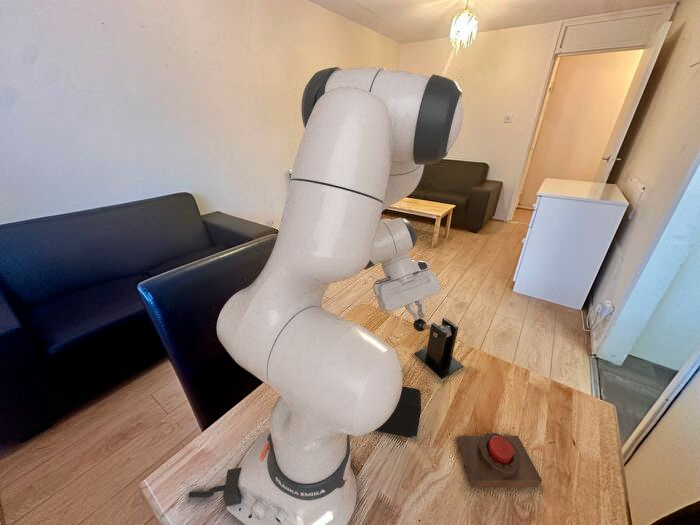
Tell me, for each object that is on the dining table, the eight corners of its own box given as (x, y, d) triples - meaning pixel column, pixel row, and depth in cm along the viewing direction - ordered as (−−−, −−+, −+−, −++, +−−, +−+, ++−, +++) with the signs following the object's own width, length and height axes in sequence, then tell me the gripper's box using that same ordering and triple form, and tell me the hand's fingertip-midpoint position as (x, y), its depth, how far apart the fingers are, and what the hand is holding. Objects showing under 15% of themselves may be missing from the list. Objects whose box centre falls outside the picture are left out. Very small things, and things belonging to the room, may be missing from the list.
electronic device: (416, 439, 58) (421, 407, 54) (368, 429, 60) (369, 398, 56) (416, 420, 62) (421, 389, 58) (370, 412, 64) (372, 380, 59)
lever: (412, 332, 81) (409, 320, 80) (421, 327, 82) (419, 316, 82) (444, 341, 70) (441, 327, 70) (454, 336, 72) (451, 322, 71)
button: (493, 464, 51) (495, 458, 50) (483, 441, 54) (485, 435, 54) (515, 463, 51) (518, 458, 50) (504, 441, 55) (506, 435, 54)
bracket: (413, 356, 79) (419, 319, 73) (434, 345, 82) (441, 310, 77) (441, 382, 71) (449, 343, 65) (462, 369, 75) (472, 331, 69)
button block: (471, 487, 51) (476, 475, 49) (456, 442, 58) (459, 430, 56) (538, 487, 51) (545, 474, 49) (514, 442, 58) (520, 429, 56)
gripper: (375, 278, 75) (396, 329, 71) (432, 261, 84) (453, 305, 81) (366, 285, 80) (384, 332, 77) (420, 268, 89) (439, 309, 86)
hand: (420, 318), depth 79 cm, fingers closed, pressing on lever
